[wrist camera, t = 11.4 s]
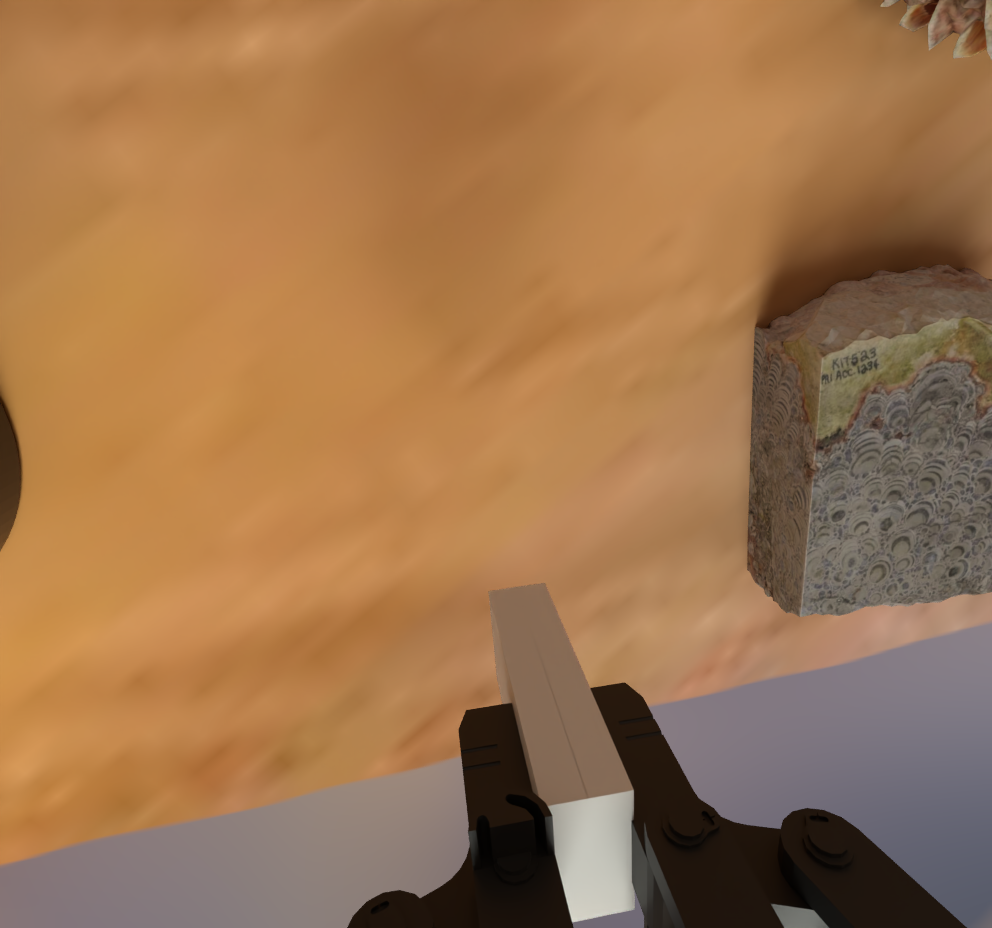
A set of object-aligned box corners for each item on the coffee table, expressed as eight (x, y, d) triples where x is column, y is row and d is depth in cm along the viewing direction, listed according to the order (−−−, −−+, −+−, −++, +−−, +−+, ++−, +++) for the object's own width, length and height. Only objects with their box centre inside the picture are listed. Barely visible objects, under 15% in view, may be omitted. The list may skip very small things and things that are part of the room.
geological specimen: (800, 645, 27) (829, 308, 21) (733, 572, 32) (742, 290, 27) (1020, 601, 28) (1109, 263, 22) (918, 537, 33) (966, 254, 27)
